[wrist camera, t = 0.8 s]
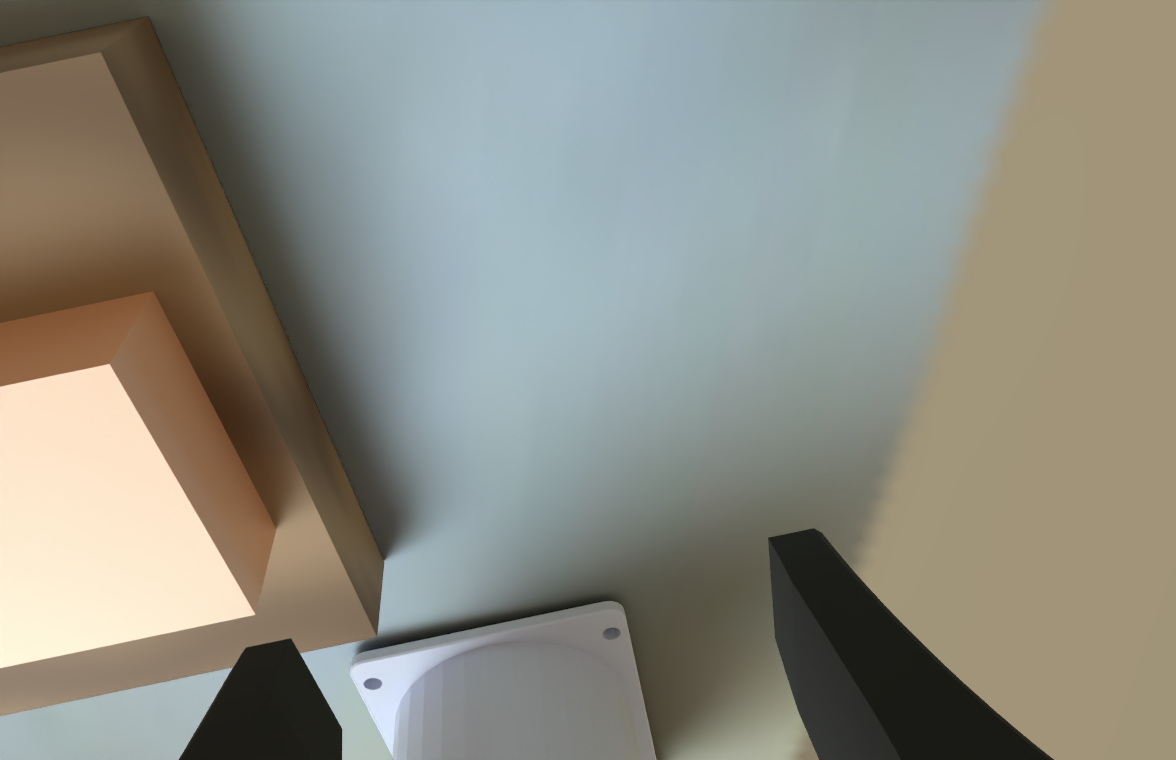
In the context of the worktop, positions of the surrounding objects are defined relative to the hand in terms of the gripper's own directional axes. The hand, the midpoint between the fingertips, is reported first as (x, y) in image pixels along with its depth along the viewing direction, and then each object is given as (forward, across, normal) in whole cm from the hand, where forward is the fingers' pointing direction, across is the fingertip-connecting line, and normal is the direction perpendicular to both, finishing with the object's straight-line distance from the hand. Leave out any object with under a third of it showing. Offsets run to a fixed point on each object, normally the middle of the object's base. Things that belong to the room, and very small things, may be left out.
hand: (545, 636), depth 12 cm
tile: (+6, +10, 0) cm, 12 cm away
